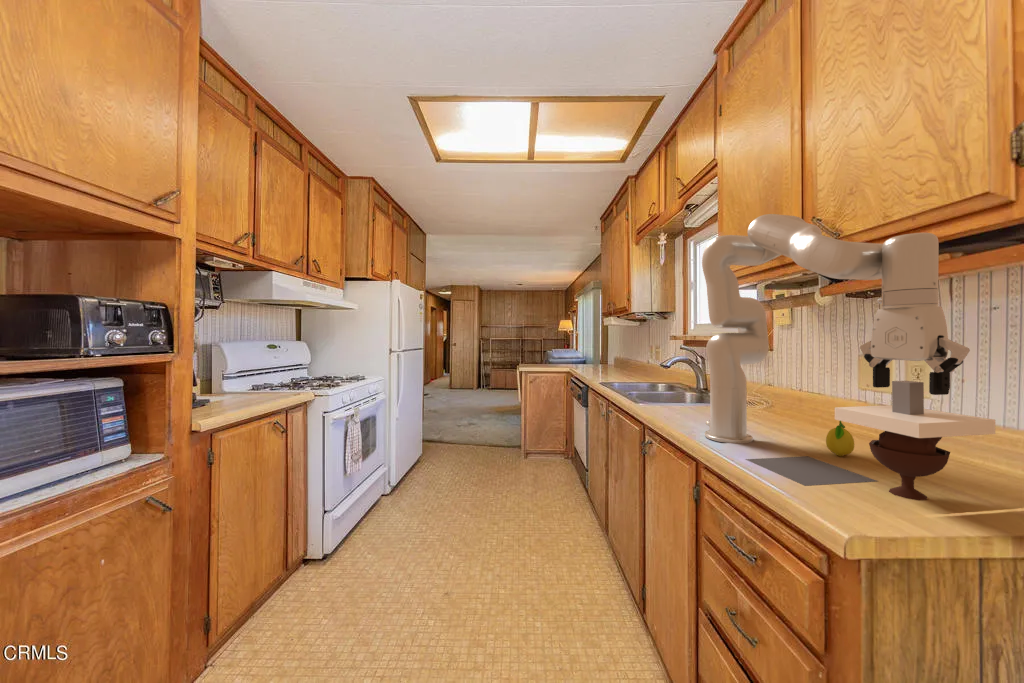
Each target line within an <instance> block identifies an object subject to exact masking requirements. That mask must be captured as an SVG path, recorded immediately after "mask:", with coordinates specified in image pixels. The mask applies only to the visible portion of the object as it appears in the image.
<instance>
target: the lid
mask: <svg viewBox="0 0 1024 683" xmlns="http://www.w3.org/2000/svg"><path fill="white" fill-rule="evenodd" d="M924 384H925V383H924V382H923V381H913V380H911V381H910V380H891V397H892V398H891V400H892V401H891V403H892V404H886V405H881V404H880V405H865V406H864V405H863V406H859V405H858V406H839V407H837V406H836V407H834V420H835V421H839V422H840V421H841V422H845V423H850V424H853V425H859V426H863V427H867V428H870V429H871V428H872V429H876V430H880V431H883V432H884V431H889V432H893V433H898V434H902V435H907V436H911V437H916V438H932V437H942V438H947V437H948V438H949V437H950V438H951V437H963V436H965V437H966V436H983V435H985V436H986V435H996V419H992V418H986V417H980V416H972V415H967V414H961V413H960V414H959V413H954V412H948V411H941V410H935V409H928V408H925V407H924V406H925V404H924V403H925V401H924V400H925V399H924V398H925V396H924V393H925V392H924V390H925V389H924Z"/></svg>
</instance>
